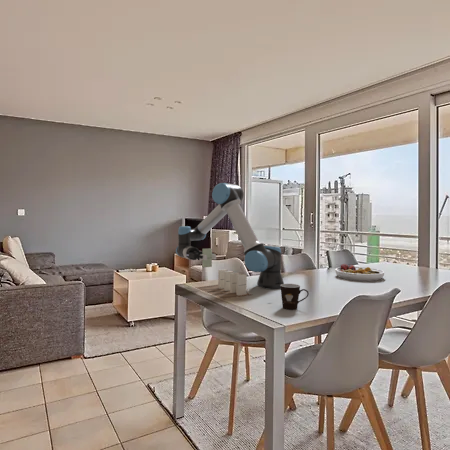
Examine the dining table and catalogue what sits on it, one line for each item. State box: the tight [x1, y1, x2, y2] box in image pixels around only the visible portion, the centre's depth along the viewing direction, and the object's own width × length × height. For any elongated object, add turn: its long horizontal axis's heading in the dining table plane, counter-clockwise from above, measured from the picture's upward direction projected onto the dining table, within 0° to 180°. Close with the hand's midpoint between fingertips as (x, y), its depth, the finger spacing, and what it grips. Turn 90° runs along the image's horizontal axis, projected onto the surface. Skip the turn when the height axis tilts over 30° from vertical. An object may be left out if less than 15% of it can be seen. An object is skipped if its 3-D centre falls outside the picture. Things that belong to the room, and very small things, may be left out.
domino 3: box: [224, 270, 235, 291], centre depth 196 cm, size 2×5×10 cm, turn 122°
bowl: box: [335, 263, 385, 282], centre depth 241 cm, size 30×30×8 cm
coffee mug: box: [280, 283, 309, 311], centre depth 162 cm, size 12×9×10 cm
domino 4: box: [230, 272, 241, 293], centre depth 191 cm, size 2×5×10 cm, turn 122°
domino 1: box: [201, 248, 213, 268], centre depth 202 cm, size 2×5×10 cm, turn 122°
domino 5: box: [237, 273, 248, 295], centre depth 186 cm, size 2×5×10 cm, turn 122°
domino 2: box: [217, 269, 229, 289], centre depth 201 cm, size 2×5×10 cm, turn 122°
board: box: [194, 284, 253, 300], centre depth 194 cm, size 31×17×1 cm, turn 31°
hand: (211, 257), depth 198 cm, fingers closed on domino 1, 5 cm apart
